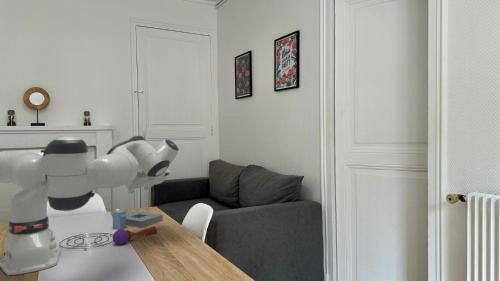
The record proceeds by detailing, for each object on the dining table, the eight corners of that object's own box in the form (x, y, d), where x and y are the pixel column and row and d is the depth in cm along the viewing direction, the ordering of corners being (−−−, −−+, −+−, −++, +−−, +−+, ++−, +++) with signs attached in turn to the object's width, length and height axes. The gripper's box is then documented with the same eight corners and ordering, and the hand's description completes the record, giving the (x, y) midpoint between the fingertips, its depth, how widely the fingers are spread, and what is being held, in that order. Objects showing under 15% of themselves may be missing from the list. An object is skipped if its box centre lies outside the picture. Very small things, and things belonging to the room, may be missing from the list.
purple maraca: (159, 225, 151) (119, 233, 134) (157, 238, 151) (117, 248, 135) (151, 221, 154) (110, 228, 138) (148, 234, 155) (108, 242, 138)
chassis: (162, 220, 174) (162, 214, 174) (141, 227, 162) (141, 221, 162) (137, 216, 183) (137, 211, 183) (115, 223, 170) (115, 217, 170)
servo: (128, 228, 162) (128, 209, 161) (121, 230, 158) (121, 211, 158) (117, 226, 165) (117, 207, 165) (110, 228, 162) (110, 209, 161)
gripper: (139, 178, 140) (123, 200, 145) (173, 172, 158) (158, 192, 163) (131, 167, 142) (115, 189, 147) (165, 162, 160) (150, 182, 165)
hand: (138, 190), depth 155 cm, fingers open, 8 cm apart
